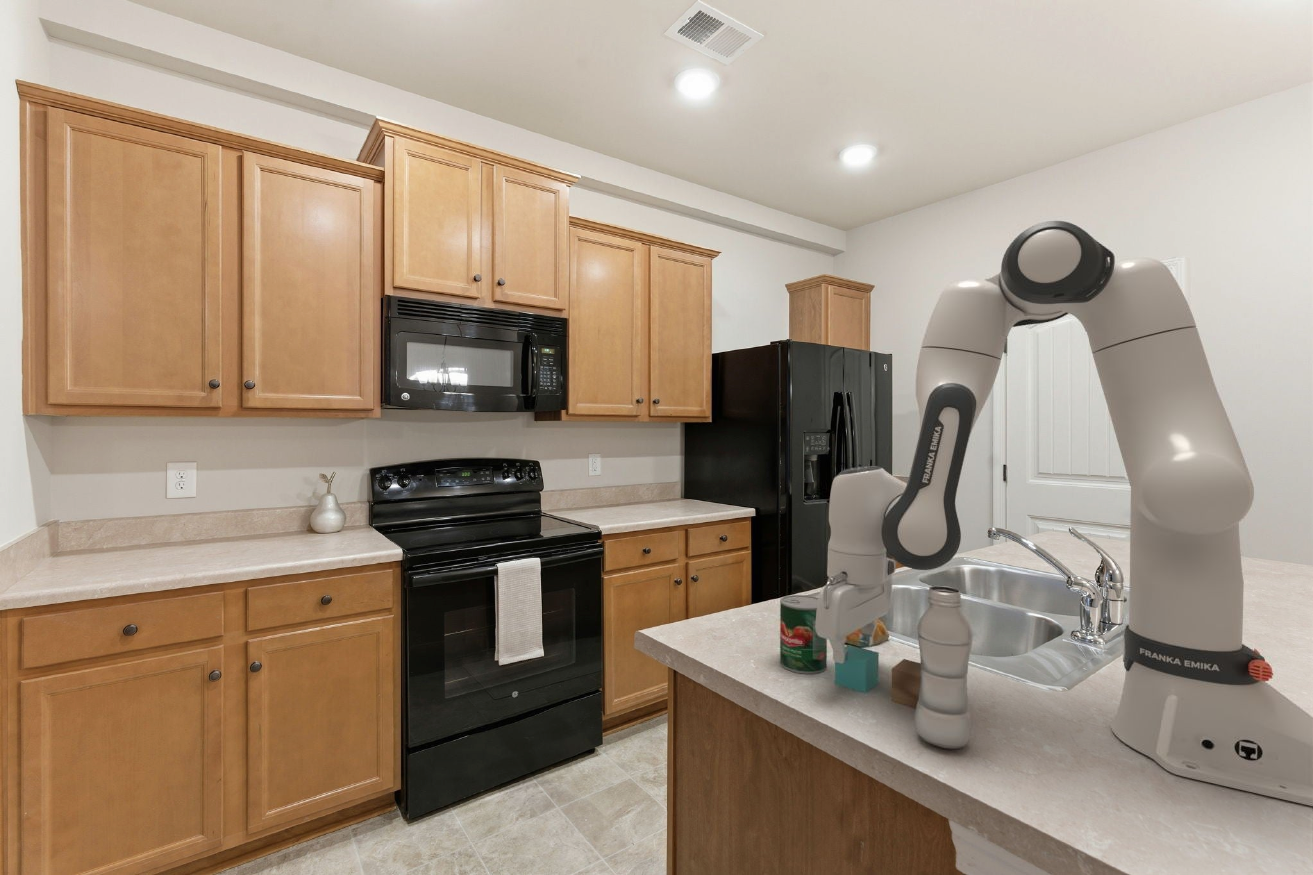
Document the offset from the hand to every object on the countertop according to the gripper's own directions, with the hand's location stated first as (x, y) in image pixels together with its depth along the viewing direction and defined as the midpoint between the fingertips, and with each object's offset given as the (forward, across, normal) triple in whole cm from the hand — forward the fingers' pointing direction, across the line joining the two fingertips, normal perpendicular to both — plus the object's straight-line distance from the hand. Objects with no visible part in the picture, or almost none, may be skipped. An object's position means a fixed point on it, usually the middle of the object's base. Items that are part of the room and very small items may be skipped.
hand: (853, 653), depth 98 cm
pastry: (+5, +20, +6) cm, 22 cm away
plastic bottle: (+5, -10, -17) cm, 20 cm away
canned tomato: (+5, +1, +9) cm, 11 cm away
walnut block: (+5, 0, -10) cm, 11 cm away
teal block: (+5, 0, -1) cm, 5 cm away
